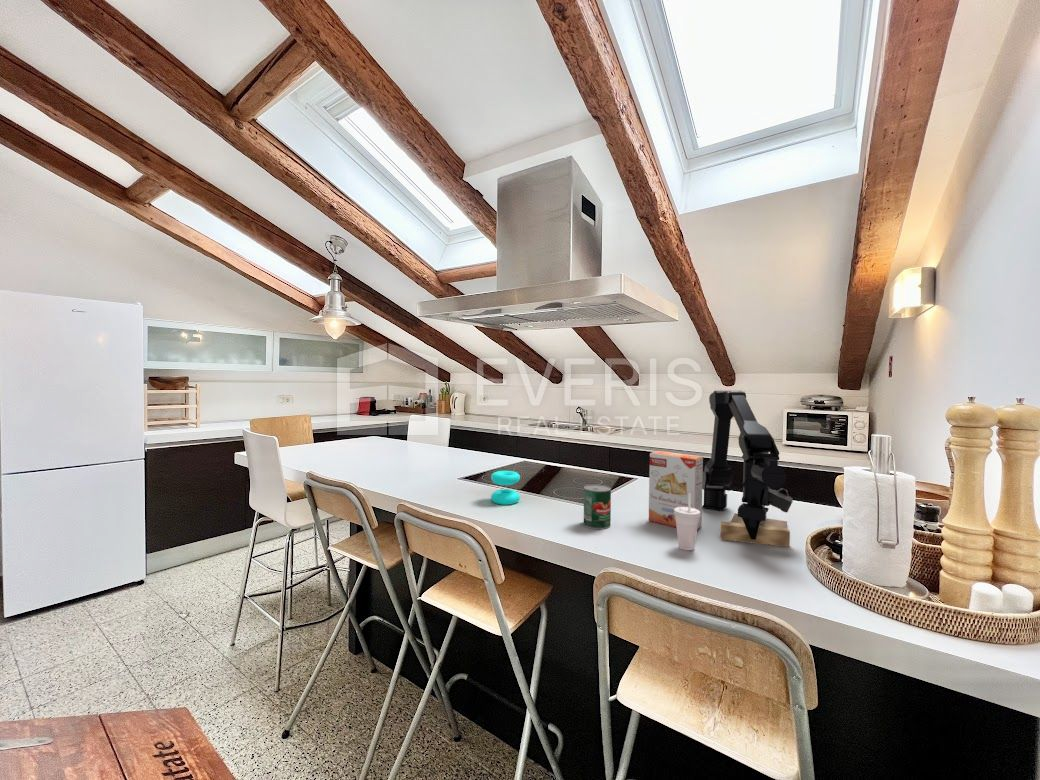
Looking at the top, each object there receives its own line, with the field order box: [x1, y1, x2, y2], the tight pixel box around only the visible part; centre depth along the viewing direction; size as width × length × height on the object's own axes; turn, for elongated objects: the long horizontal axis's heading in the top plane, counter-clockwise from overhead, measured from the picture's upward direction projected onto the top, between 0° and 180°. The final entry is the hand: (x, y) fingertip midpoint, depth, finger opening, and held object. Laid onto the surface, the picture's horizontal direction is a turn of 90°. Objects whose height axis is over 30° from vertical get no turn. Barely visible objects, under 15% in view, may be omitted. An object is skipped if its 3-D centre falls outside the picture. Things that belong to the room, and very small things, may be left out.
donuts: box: [490, 470, 521, 506], centre depth 154 cm, size 10×10×10 cm
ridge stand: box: [730, 506, 788, 529], centre depth 130 cm, size 14×12×6 cm
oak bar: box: [719, 521, 791, 547], centre depth 118 cm, size 16×3×4 cm, turn 72°
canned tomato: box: [583, 484, 612, 530], centre depth 130 cm, size 8×8×11 cm
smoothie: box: [674, 493, 701, 551], centre depth 113 cm, size 6×6×14 cm
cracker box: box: [648, 450, 704, 530], centre depth 131 cm, size 14×6×21 cm, turn 47°
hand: (754, 537), depth 118 cm, fingers closed on oak bar, 4 cm apart
